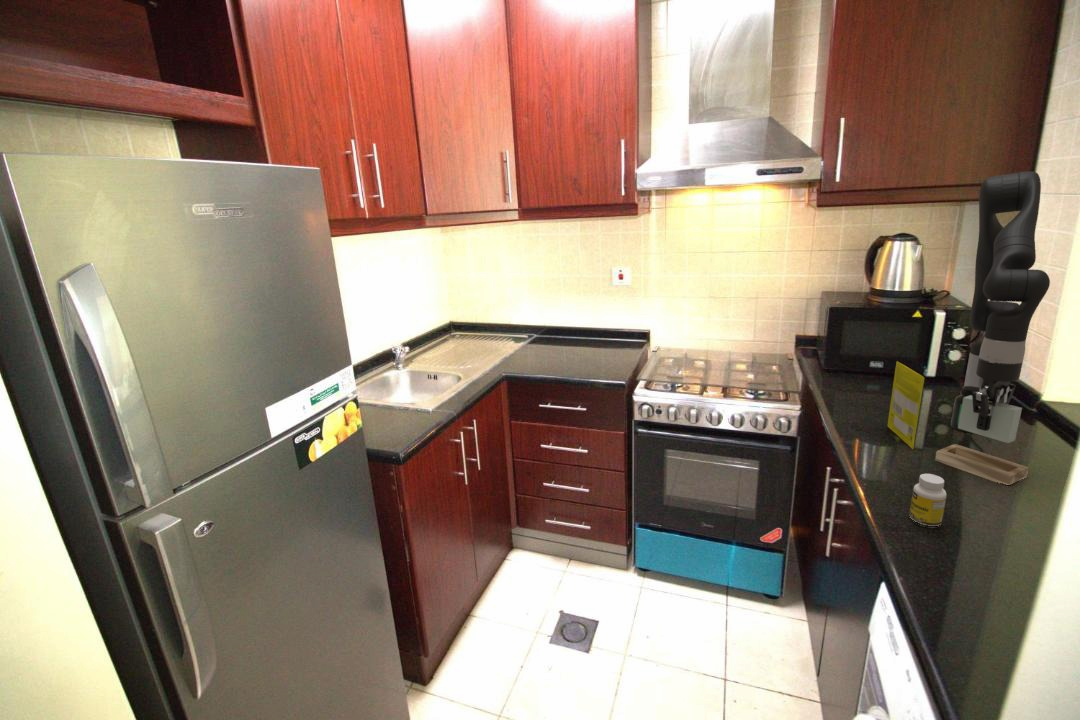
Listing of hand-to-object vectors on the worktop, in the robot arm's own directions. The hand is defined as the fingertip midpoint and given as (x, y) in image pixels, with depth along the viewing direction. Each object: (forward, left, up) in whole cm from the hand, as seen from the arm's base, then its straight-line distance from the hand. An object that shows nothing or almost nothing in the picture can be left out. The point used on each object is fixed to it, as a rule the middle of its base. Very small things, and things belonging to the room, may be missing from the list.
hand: (986, 427), depth 121 cm
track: (0, 0, -11) cm, 11 cm away
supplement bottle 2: (-23, -14, -11) cm, 29 cm away
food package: (-3, -20, -11) cm, 23 cm away
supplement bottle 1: (+33, +6, -11) cm, 35 cm away
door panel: (0, 0, -2) cm, 2 cm away
